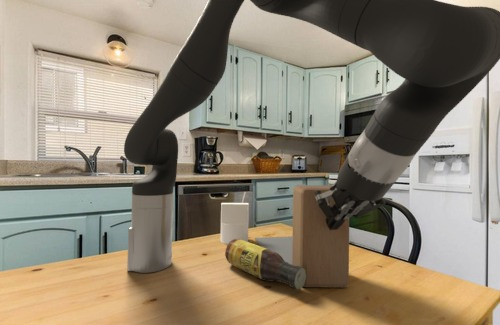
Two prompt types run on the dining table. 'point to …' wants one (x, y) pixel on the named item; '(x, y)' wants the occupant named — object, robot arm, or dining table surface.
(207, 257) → the dining table surface
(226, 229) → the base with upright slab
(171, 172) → the robot arm
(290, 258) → the mat
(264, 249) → the sauce bottle
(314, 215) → the block
